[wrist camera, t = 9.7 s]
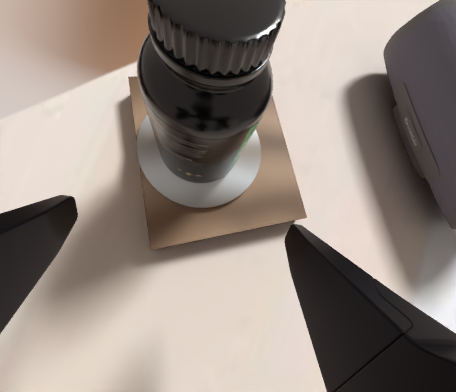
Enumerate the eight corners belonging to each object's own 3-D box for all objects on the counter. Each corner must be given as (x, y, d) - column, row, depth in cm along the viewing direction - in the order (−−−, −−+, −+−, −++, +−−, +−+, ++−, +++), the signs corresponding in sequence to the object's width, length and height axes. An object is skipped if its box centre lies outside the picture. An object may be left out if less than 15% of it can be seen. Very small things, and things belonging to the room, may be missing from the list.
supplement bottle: (249, 168, 19) (347, 45, 7) (179, 198, 17) (161, 96, 5) (217, 105, 20) (259, -92, 8) (146, 127, 18) (73, -87, 6)
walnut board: (296, 220, 21) (310, 216, 19) (154, 249, 18) (149, 249, 16) (259, 87, 24) (268, 69, 22) (133, 92, 21) (126, 71, 19)
